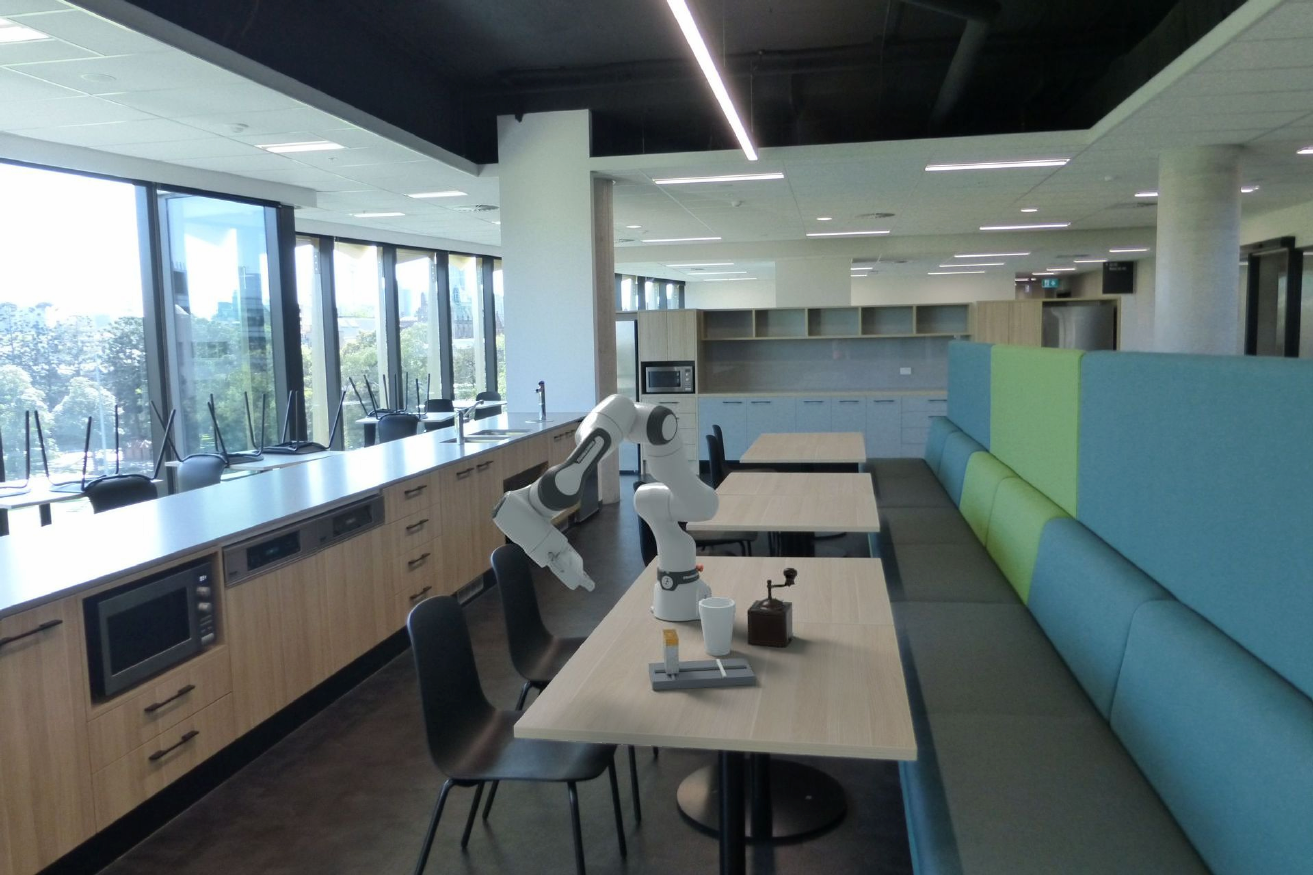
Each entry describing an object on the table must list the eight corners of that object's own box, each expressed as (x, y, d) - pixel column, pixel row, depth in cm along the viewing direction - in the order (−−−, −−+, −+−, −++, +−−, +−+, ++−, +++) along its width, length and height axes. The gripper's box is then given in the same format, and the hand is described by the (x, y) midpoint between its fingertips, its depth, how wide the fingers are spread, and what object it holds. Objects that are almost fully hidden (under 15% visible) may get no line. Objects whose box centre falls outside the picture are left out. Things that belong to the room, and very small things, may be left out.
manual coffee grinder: (788, 648, 235) (787, 581, 233) (746, 644, 238) (745, 578, 236) (799, 629, 249) (799, 566, 247) (760, 626, 253) (759, 563, 251)
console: (652, 689, 209) (652, 680, 209) (648, 671, 221) (648, 662, 221) (754, 684, 211) (754, 674, 211) (745, 665, 223) (745, 656, 223)
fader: (666, 674, 211) (665, 639, 210) (663, 664, 218) (662, 629, 217) (679, 674, 212) (678, 638, 211) (676, 663, 219) (675, 629, 218)
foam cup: (706, 659, 228) (705, 609, 227) (694, 647, 237) (693, 599, 235) (741, 655, 230) (740, 605, 229) (728, 643, 239) (728, 595, 238)
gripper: (558, 548, 199) (603, 590, 201) (559, 529, 219) (601, 567, 221) (538, 569, 199) (584, 610, 201) (542, 548, 219) (583, 586, 221)
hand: (593, 587), depth 211 cm, fingers closed
